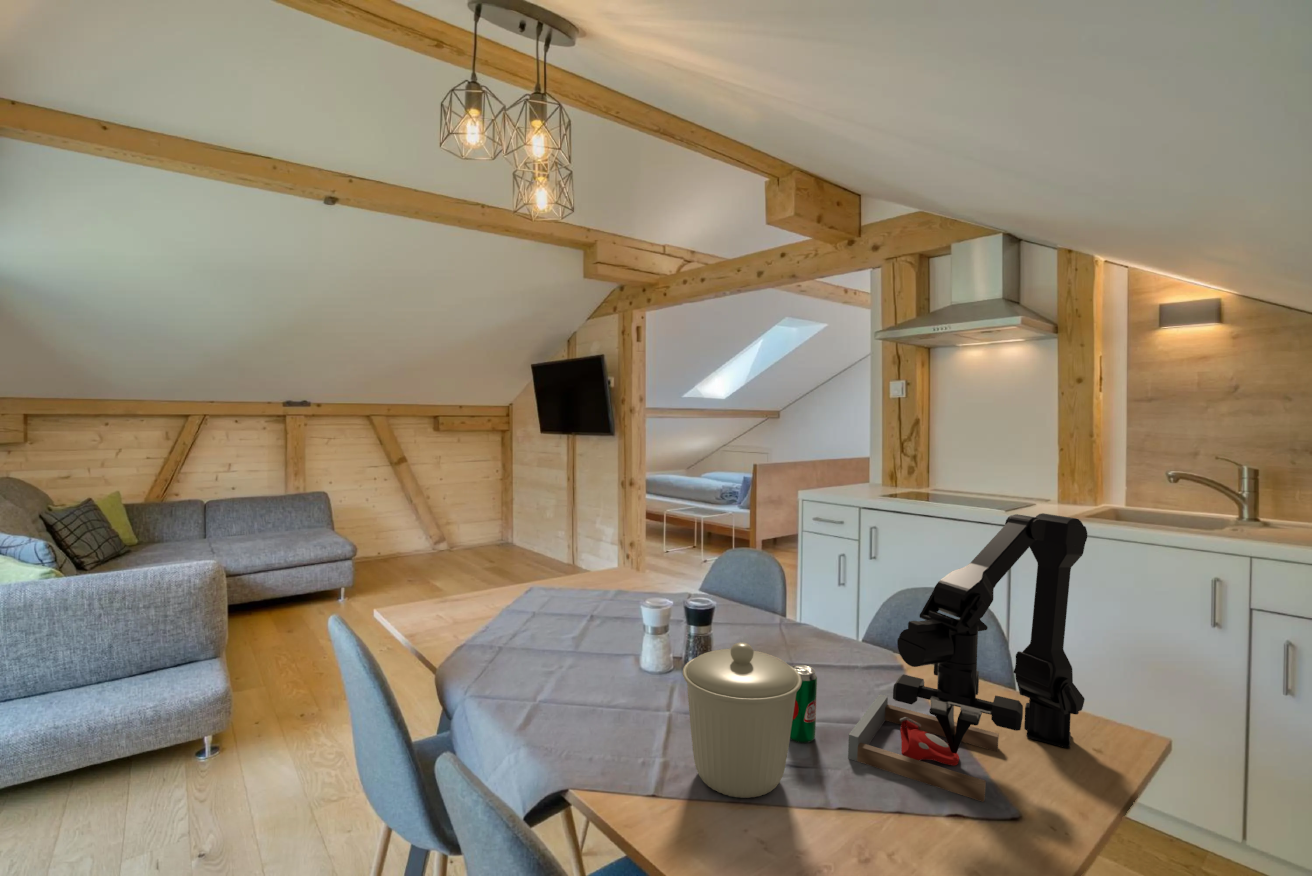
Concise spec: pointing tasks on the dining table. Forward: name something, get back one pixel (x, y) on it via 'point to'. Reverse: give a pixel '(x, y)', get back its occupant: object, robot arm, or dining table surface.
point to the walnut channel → (925, 770)
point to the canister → (740, 718)
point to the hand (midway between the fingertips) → (954, 751)
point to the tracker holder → (924, 744)
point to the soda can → (805, 706)
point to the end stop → (867, 726)
